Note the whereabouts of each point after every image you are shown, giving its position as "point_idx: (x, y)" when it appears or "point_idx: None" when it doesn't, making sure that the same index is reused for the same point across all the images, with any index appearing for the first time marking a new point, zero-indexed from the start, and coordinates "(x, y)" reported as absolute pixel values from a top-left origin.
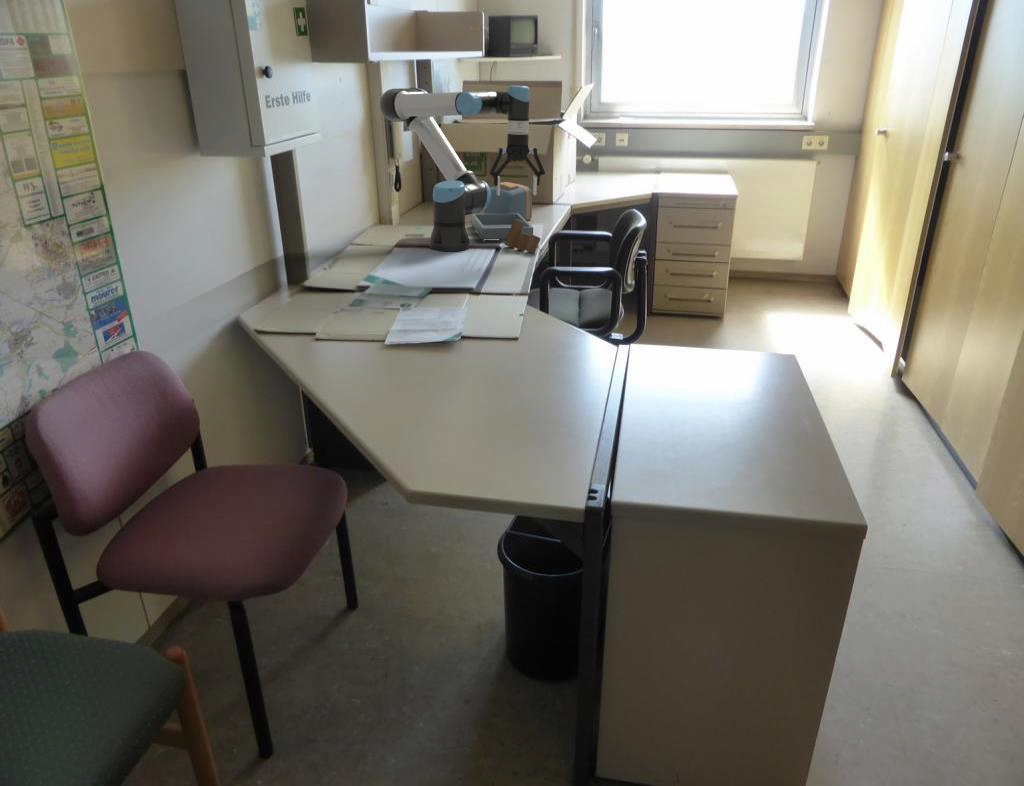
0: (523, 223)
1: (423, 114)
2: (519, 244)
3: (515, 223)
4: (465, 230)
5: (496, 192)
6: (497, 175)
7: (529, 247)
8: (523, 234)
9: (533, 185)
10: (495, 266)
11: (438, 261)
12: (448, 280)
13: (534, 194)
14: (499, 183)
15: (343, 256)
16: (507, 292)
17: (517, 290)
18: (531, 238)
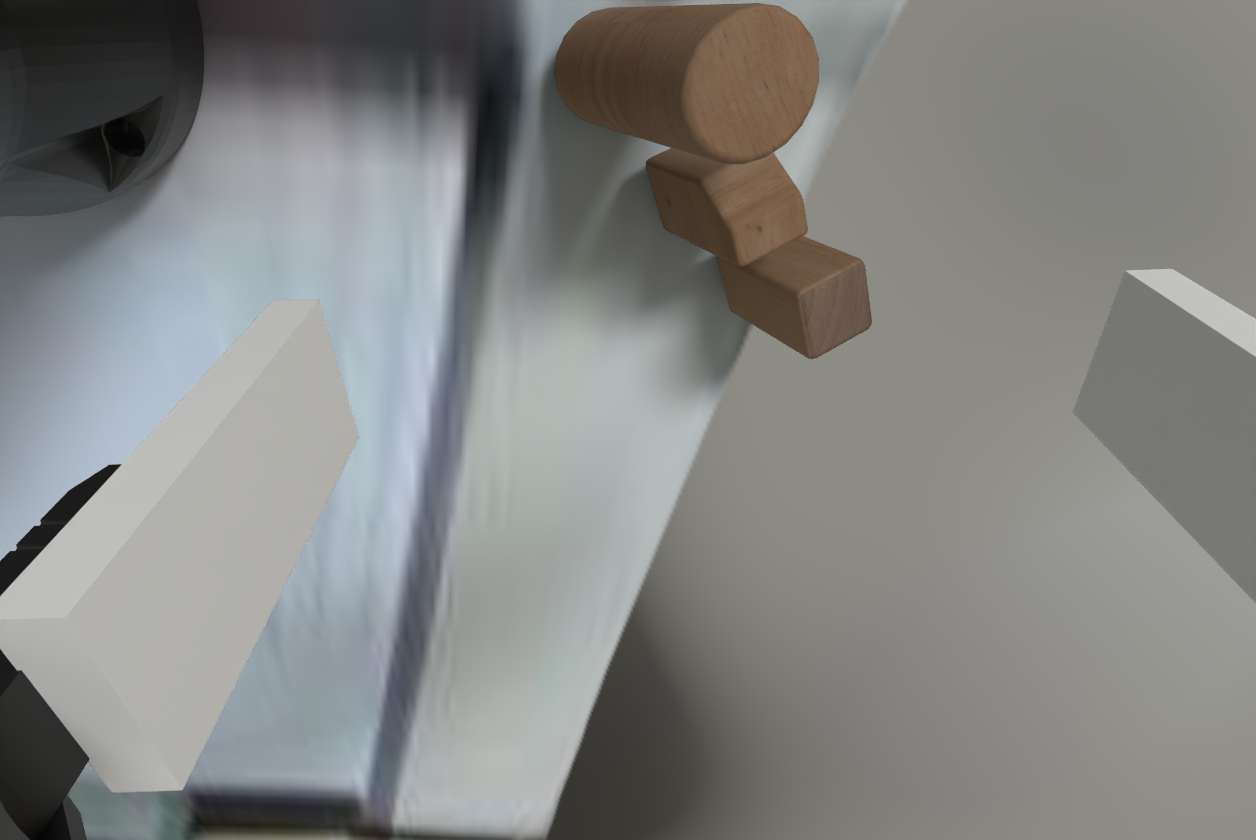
0: (786, 138)
1: None
2: (681, 235)
3: (679, 142)
4: (56, 83)
5: (257, 326)
6: (57, 832)
7: (746, 320)
8: (731, 258)
9: (1245, 419)
10: (456, 562)
11: (67, 453)
12: (232, 728)
13: (1081, 419)
14: (252, 624)
15: None
16: (494, 831)
17: (535, 818)
18: (785, 323)
